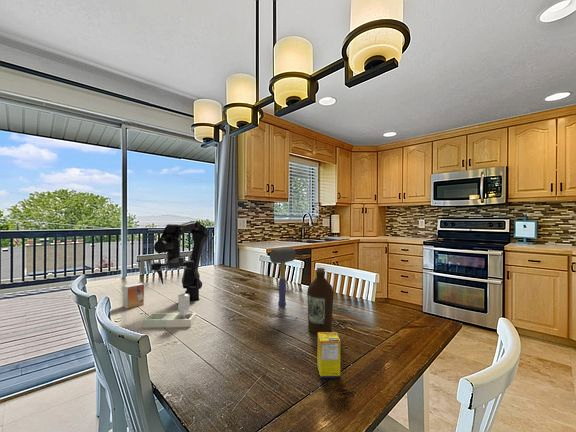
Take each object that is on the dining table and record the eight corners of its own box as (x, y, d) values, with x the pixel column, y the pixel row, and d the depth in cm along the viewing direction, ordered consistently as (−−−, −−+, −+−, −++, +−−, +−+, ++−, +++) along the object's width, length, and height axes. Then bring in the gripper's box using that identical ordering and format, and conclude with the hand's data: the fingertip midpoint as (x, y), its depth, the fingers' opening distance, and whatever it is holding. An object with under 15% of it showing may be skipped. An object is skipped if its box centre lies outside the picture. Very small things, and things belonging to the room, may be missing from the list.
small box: (127, 309, 132) (127, 287, 132) (122, 306, 135) (122, 285, 135) (144, 304, 138) (144, 284, 138) (139, 302, 141) (139, 282, 141)
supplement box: (336, 367, 84) (336, 331, 84) (340, 378, 78) (341, 340, 78) (316, 367, 84) (317, 331, 84) (319, 379, 78) (320, 340, 78)
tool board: (142, 327, 111) (142, 320, 111) (151, 319, 119) (151, 312, 119) (190, 327, 112) (190, 319, 112) (196, 319, 120) (196, 312, 120)
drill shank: (186, 320, 119) (186, 292, 119) (190, 323, 116) (191, 295, 116) (176, 323, 116) (176, 294, 116) (180, 326, 113) (180, 297, 113)
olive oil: (313, 322, 118) (314, 265, 118) (336, 328, 113) (337, 267, 113) (302, 331, 109) (303, 269, 109) (327, 338, 104) (328, 272, 103)
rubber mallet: (277, 312, 130) (277, 249, 130) (267, 308, 135) (268, 247, 135) (296, 307, 138) (297, 247, 138) (286, 303, 144) (287, 246, 143)
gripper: (150, 253, 120) (150, 289, 120) (195, 251, 127) (195, 285, 127) (152, 250, 130) (151, 283, 130) (193, 249, 137) (193, 280, 137)
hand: (173, 283), depth 131 cm, fingers open, 9 cm apart
